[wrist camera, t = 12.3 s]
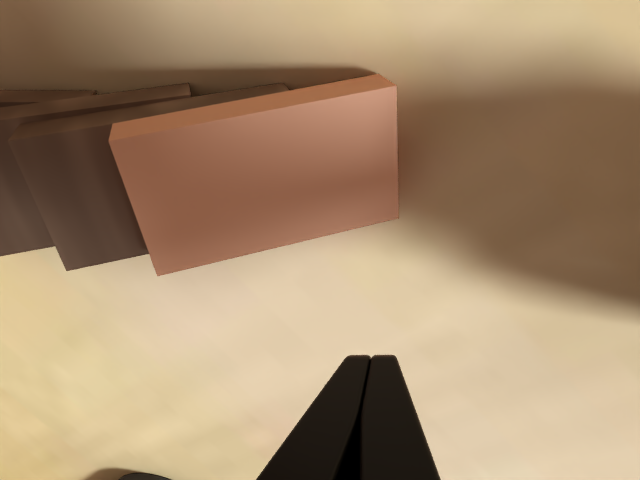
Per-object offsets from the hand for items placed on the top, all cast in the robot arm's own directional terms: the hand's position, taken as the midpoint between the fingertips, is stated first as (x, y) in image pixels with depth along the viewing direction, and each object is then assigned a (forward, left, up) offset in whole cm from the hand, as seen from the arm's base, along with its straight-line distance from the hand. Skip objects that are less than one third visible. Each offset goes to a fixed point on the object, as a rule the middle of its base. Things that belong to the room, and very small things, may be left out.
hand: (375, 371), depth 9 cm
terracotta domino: (+1, +1, -11) cm, 11 cm away
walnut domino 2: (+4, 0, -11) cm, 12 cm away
